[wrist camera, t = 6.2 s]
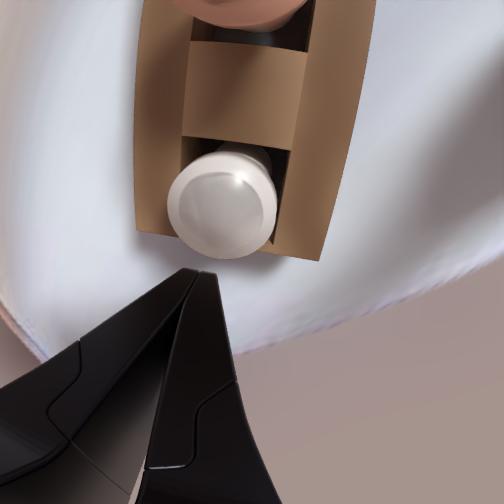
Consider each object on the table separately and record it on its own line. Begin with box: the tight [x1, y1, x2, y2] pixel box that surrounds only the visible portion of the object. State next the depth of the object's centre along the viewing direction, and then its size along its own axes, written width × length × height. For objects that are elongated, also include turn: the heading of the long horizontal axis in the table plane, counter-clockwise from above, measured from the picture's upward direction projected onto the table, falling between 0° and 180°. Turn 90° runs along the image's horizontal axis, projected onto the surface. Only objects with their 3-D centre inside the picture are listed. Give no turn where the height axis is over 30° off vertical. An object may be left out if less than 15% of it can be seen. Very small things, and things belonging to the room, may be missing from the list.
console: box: [134, 0, 376, 261], centre depth 11 cm, size 10×25×4 cm, turn 172°
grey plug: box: [167, 141, 277, 259], centre depth 15 cm, size 5×5×6 cm
